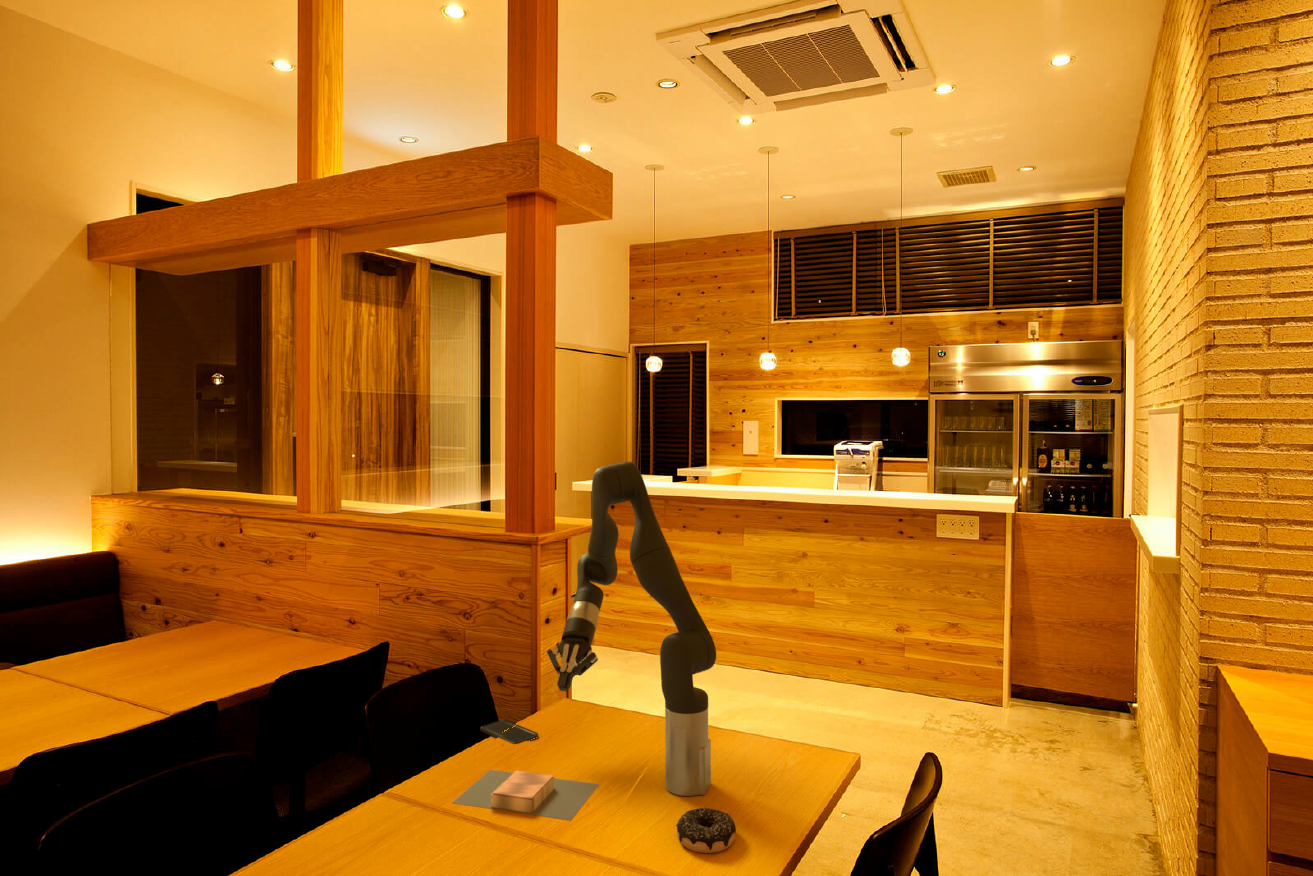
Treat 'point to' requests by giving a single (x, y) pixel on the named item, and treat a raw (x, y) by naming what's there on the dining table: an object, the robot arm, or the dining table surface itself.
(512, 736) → the phone
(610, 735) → the dining table surface
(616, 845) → the dining table surface
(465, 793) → the mat
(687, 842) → the donut
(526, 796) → the tan wooden block
